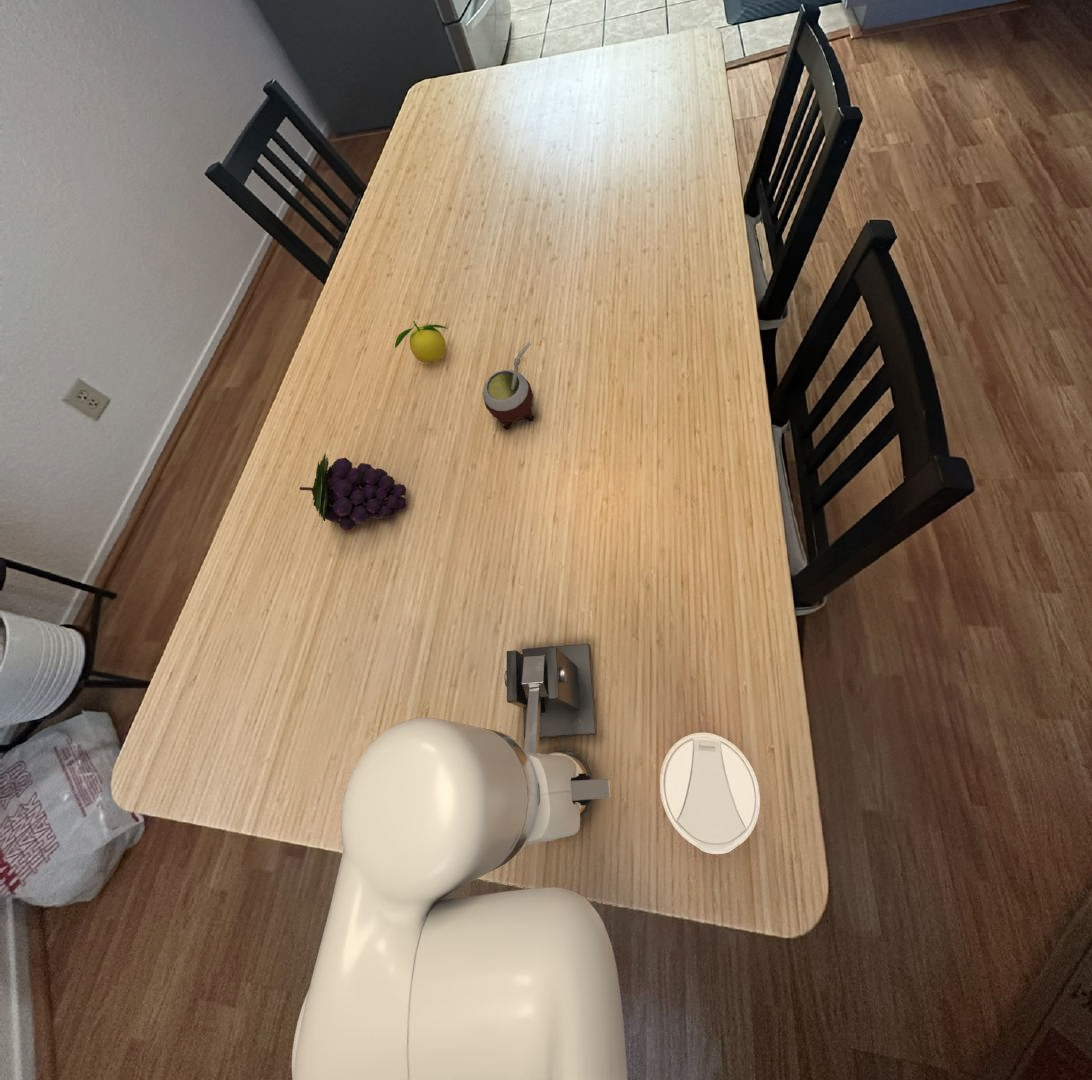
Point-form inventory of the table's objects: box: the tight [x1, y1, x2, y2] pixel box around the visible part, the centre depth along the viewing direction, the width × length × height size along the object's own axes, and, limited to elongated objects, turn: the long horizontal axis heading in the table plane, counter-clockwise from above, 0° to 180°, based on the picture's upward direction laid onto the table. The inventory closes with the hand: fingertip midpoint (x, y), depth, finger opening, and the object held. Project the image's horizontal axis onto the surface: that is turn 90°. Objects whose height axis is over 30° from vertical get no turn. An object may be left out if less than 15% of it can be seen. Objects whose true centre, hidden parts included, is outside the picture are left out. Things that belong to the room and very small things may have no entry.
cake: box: [547, 750, 593, 819], centre depth 64 cm, size 6×6×4 cm
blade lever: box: [521, 655, 548, 753], centre depth 56 cm, size 12×5×2 cm, turn 3°
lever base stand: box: [503, 643, 598, 739], centre depth 65 cm, size 9×8×15 cm
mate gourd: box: [482, 341, 535, 431], centre depth 86 cm, size 8×8×15 cm
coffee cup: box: [659, 732, 761, 855], centre depth 57 cm, size 8×8×15 cm
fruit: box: [299, 452, 407, 532], centre depth 85 cm, size 10×11×15 cm
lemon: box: [394, 320, 449, 364], centre depth 97 cm, size 7×6×10 cm
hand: (535, 790), depth 54 cm, fingers closed on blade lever, 5 cm apart
